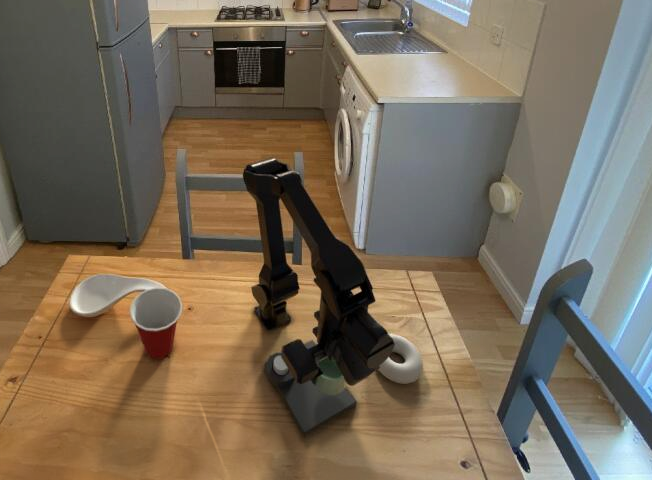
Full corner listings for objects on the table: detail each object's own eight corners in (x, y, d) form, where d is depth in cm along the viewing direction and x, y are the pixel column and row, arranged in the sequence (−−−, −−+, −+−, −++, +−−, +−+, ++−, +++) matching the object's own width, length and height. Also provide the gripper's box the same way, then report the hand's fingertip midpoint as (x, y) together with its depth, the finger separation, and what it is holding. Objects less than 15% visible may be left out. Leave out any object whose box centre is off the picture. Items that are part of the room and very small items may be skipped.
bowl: (303, 369, 82) (304, 354, 80) (331, 355, 84) (333, 339, 83) (325, 403, 76) (327, 387, 74) (354, 386, 79) (356, 370, 77)
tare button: (270, 364, 85) (270, 359, 84) (283, 358, 86) (283, 353, 85) (278, 378, 82) (278, 372, 81) (291, 371, 83) (291, 366, 83)
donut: (373, 383, 84) (427, 392, 82) (375, 371, 82) (429, 380, 80) (367, 337, 93) (416, 345, 91) (369, 326, 91) (418, 333, 89)
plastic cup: (194, 353, 90) (191, 313, 85) (146, 380, 85) (140, 339, 80) (172, 316, 98) (169, 277, 94) (128, 338, 93) (122, 299, 89)
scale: (260, 369, 86) (260, 359, 85) (312, 344, 91) (313, 334, 90) (299, 439, 75) (300, 429, 73) (356, 406, 80) (358, 395, 78)
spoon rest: (64, 325, 96) (58, 303, 94) (81, 284, 107) (77, 263, 104) (166, 326, 96) (164, 304, 93) (173, 285, 107) (171, 263, 104)
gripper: (320, 380, 64) (313, 442, 70) (410, 332, 71) (397, 391, 77) (281, 322, 73) (278, 380, 79) (364, 284, 80) (355, 340, 86)
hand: (328, 374), depth 80 cm, fingers closed on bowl, 7 cm apart
